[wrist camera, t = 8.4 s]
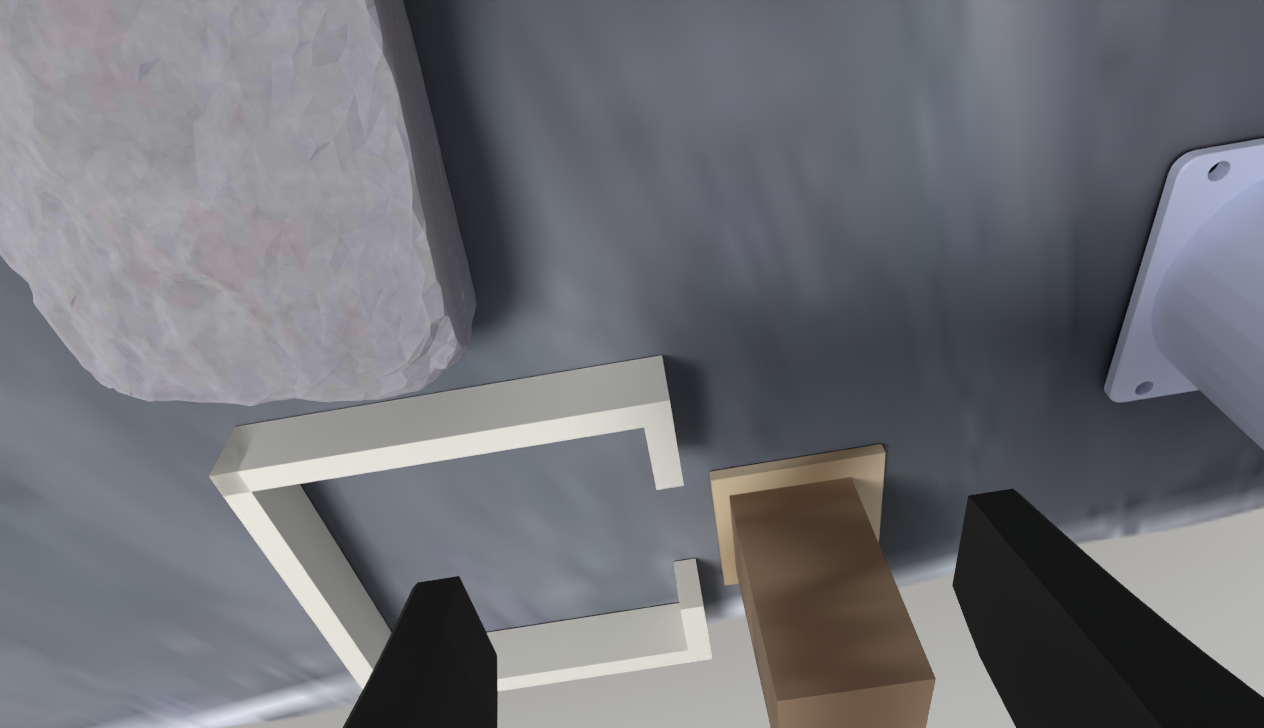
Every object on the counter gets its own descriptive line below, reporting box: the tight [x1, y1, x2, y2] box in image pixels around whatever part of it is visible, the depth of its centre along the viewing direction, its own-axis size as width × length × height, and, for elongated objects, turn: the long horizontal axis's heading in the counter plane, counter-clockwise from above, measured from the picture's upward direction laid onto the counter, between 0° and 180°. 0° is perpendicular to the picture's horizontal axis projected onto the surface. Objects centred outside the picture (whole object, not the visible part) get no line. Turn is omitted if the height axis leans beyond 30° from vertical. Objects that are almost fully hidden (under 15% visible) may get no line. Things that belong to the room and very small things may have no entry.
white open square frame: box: [209, 355, 712, 691], centre depth 25 cm, size 13×13×2 cm
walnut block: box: [729, 477, 935, 728], centre depth 23 cm, size 4×4×7 cm
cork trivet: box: [709, 444, 886, 585], centre depth 26 cm, size 6×6×1 cm
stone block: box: [0, 0, 476, 406], centre depth 16 cm, size 12×5×10 cm
